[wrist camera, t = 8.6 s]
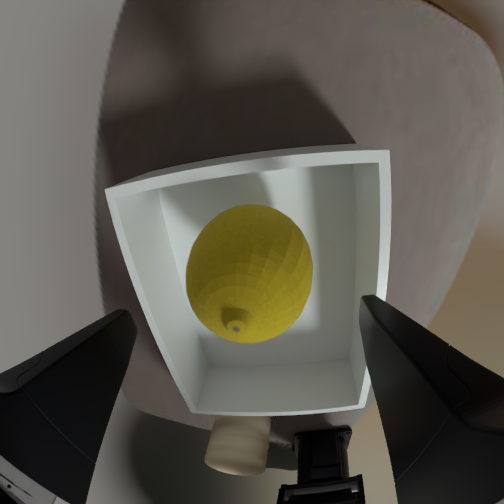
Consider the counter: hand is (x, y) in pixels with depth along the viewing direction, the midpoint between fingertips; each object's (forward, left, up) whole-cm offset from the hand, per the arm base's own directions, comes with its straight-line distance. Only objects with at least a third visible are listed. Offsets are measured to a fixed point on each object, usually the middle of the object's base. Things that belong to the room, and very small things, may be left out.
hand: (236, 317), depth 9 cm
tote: (-4, 0, -9) cm, 9 cm away
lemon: (0, 0, -8) cm, 8 cm away
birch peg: (-17, +3, -9) cm, 20 cm away
